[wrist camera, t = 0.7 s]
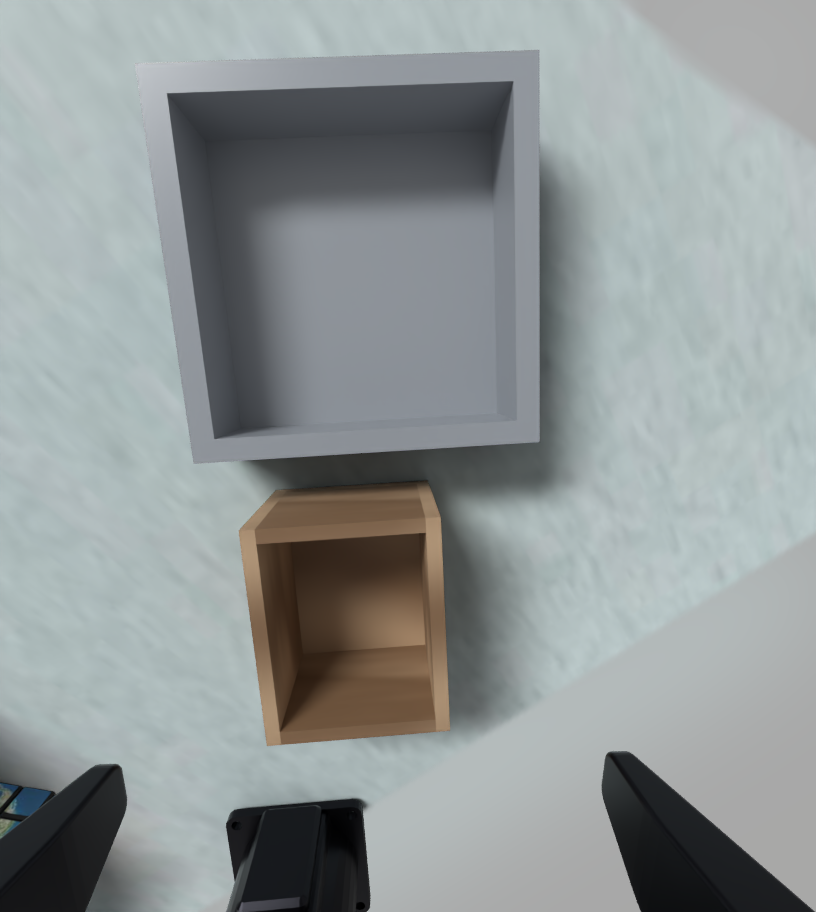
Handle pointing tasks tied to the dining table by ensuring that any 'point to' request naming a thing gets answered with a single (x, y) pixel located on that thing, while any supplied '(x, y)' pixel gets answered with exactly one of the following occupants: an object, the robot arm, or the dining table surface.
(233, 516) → the dining table surface
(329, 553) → the walnut crate
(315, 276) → the grey crate
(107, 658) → the dining table surface
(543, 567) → the dining table surface
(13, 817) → the puzzle
